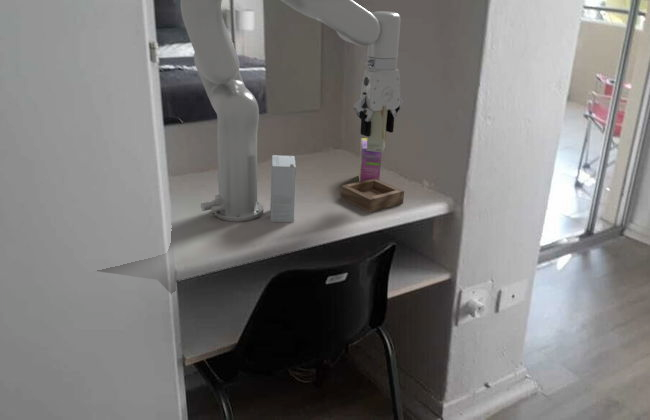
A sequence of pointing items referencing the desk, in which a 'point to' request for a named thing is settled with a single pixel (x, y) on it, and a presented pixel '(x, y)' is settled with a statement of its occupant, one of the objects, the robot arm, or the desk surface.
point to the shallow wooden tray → (372, 194)
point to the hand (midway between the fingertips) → (376, 132)
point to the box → (368, 162)
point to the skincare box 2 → (377, 131)
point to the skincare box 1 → (283, 188)
